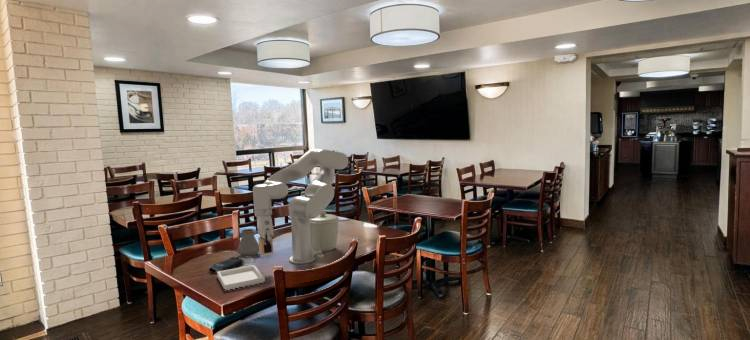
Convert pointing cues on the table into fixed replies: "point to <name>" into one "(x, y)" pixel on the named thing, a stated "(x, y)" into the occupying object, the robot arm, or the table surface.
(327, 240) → the canister
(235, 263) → the electronic device
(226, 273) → the tray
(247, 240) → the coffee pot
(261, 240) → the block
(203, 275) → the table surface
